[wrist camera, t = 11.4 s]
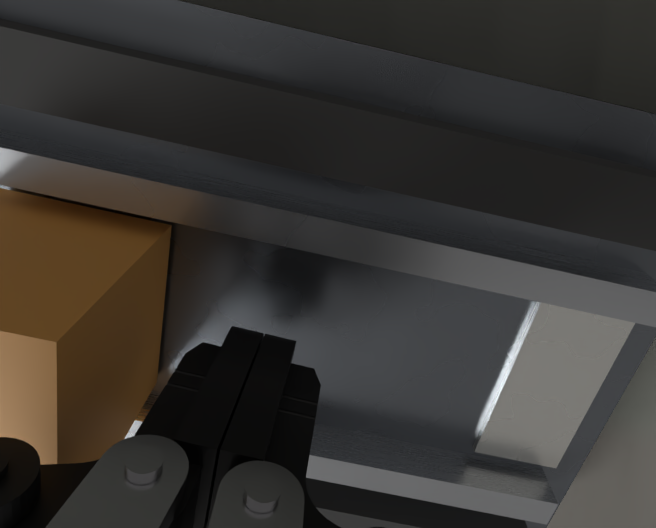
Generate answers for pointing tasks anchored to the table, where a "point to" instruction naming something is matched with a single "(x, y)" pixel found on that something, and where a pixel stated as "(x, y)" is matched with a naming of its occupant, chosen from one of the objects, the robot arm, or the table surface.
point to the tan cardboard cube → (77, 323)
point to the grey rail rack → (331, 171)
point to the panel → (372, 261)
